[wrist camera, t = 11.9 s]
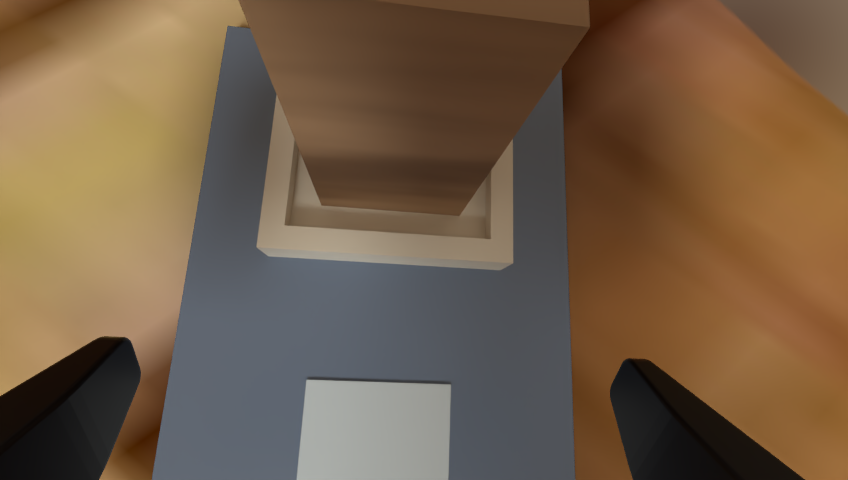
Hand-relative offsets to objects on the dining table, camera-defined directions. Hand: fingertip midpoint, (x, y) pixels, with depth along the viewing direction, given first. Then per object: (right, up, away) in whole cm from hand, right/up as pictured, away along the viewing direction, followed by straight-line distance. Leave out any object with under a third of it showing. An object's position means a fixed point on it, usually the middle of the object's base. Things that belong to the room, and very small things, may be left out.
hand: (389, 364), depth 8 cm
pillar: (0, +6, +8) cm, 10 cm away
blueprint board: (-1, 0, +9) cm, 8 cm away
